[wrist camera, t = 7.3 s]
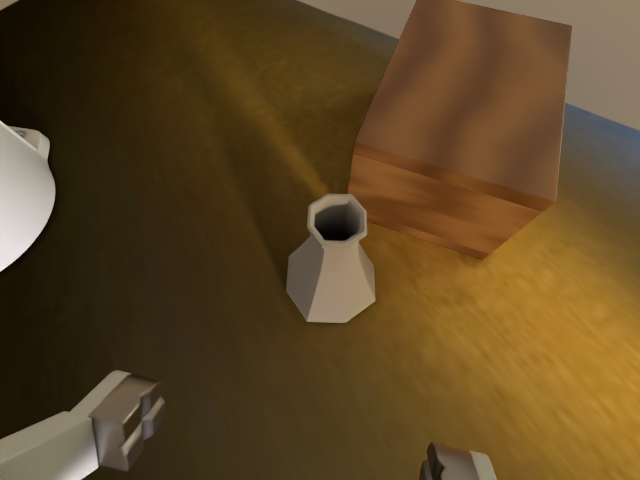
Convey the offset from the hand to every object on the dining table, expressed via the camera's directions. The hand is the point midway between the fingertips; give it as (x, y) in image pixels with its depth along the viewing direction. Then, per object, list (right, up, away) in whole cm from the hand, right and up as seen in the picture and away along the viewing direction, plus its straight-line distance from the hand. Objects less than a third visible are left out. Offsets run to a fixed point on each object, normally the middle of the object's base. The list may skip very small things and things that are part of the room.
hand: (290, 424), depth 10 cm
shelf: (+12, +13, +21) cm, 27 cm away
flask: (+2, +2, +16) cm, 16 cm away
